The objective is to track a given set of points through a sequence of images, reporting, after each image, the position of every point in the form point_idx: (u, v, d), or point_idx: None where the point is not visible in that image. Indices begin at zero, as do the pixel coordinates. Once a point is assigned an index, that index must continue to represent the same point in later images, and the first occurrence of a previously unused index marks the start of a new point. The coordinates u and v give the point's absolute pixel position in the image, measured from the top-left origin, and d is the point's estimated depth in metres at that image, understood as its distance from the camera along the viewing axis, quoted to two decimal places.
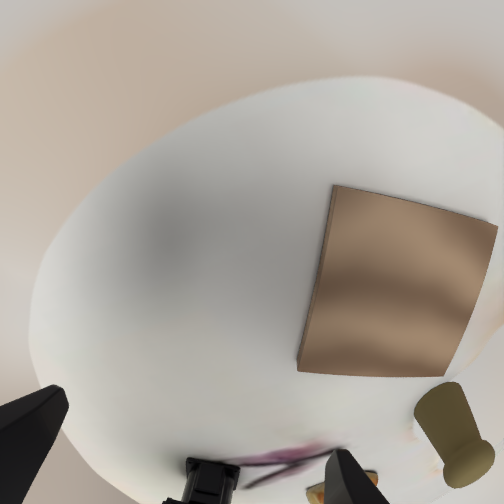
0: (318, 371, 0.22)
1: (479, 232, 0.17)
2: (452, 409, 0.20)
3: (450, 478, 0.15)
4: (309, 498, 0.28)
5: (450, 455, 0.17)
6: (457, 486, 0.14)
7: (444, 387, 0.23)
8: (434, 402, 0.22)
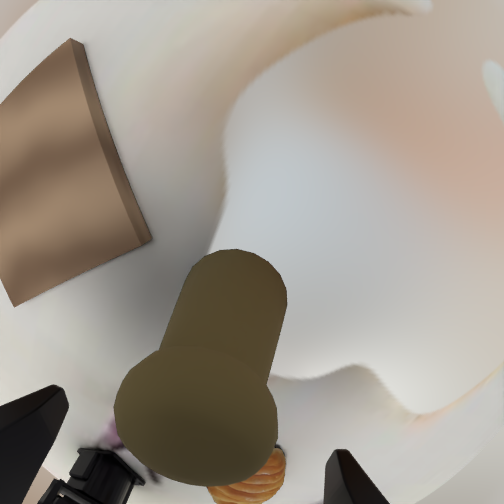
0: (21, 300, 0.17)
1: (49, 65, 0.12)
2: (181, 296, 0.13)
3: None
4: (208, 489, 0.21)
5: None
6: (167, 477, 0.07)
7: (195, 266, 0.16)
8: None
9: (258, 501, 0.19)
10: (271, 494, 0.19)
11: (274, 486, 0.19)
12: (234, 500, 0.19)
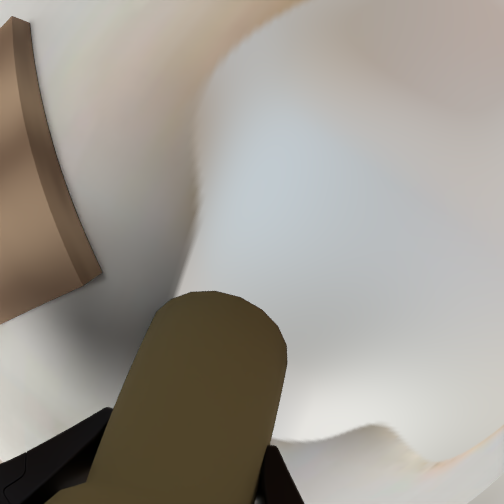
0: None
1: None
2: (131, 368, 0.08)
3: None
4: None
5: None
6: None
7: (158, 314, 0.11)
8: None
9: None
10: None
11: None
12: None
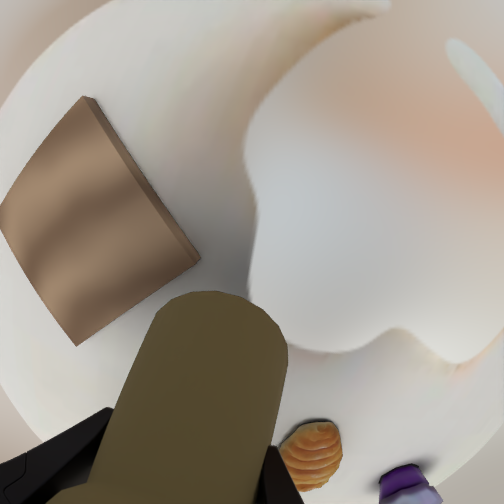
0: (84, 338, 0.21)
1: (68, 123, 0.16)
2: (132, 368, 0.08)
3: None
4: None
5: None
6: None
7: (158, 314, 0.11)
8: None
9: (324, 477, 0.22)
10: (334, 467, 0.22)
11: (334, 458, 0.22)
12: (302, 480, 0.22)
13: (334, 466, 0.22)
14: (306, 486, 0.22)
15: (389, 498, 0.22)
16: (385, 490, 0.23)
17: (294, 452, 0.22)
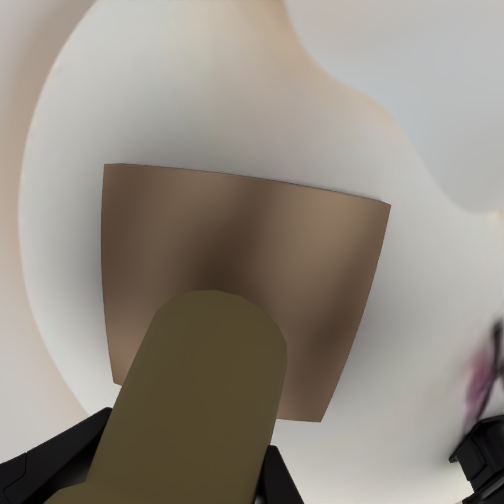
0: (325, 405, 0.16)
1: (115, 204, 0.14)
2: (131, 368, 0.08)
3: None
4: None
5: None
6: None
7: (158, 313, 0.11)
8: None
9: None
10: None
11: None
12: None
13: None
14: None
15: None
16: None
17: None
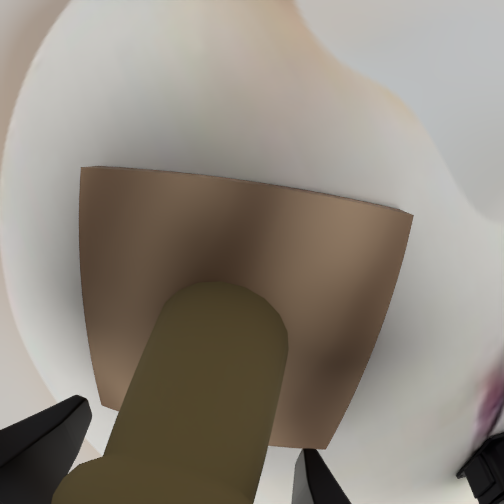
0: (331, 433, 0.14)
1: (93, 214, 0.12)
2: (144, 353, 0.09)
3: None
4: None
5: None
6: None
7: (167, 303, 0.12)
8: None
9: None
10: None
11: None
12: None
13: None
14: None
15: None
16: None
17: None
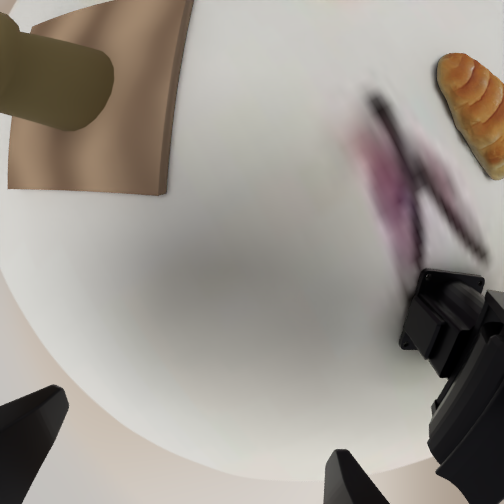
0: (157, 167, 0.16)
1: None
2: None
3: None
4: (502, 175, 0.15)
5: None
6: None
7: None
8: None
9: None
10: None
11: (497, 80, 0.12)
12: None
13: None
14: None
15: None
16: None
17: (466, 96, 0.13)
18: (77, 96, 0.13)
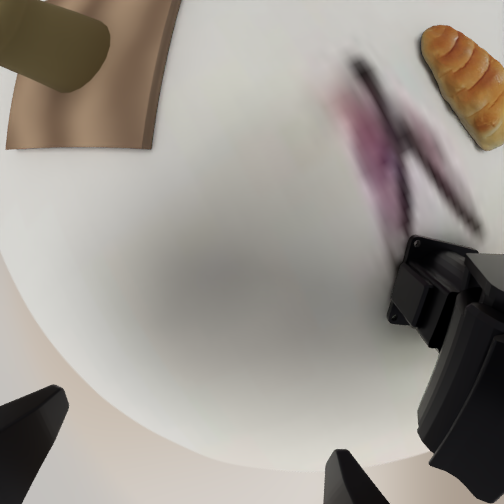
0: (142, 122, 0.16)
1: None
2: None
3: None
4: (493, 144, 0.14)
5: None
6: None
7: None
8: None
9: None
10: (497, 61, 0.11)
11: (483, 51, 0.12)
12: (502, 98, 0.12)
13: (496, 60, 0.11)
14: None
15: None
16: None
17: (449, 63, 0.12)
18: (73, 56, 0.12)
